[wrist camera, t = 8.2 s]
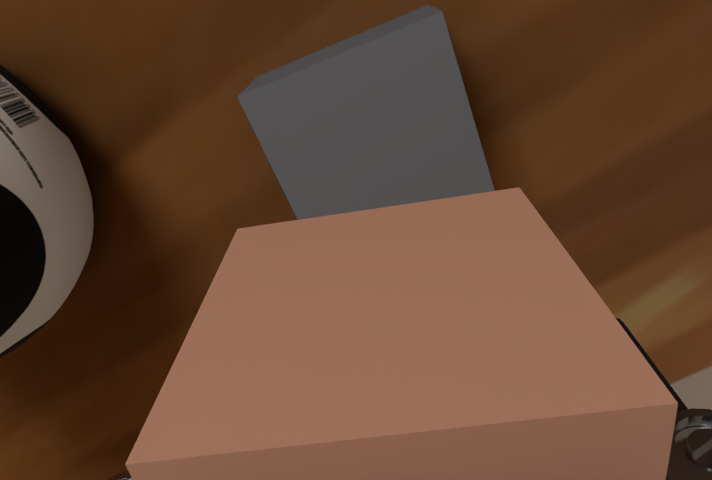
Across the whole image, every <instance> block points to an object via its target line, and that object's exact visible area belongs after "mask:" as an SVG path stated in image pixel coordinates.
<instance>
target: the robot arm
mask: <svg viewBox="0 0 712 480" xmlns="http://www.w3.org/2000/svg"><path fill="white" fill-rule="evenodd" d="M616 319H617V321H618V322H619V324H620V325H621V326H622V328H623V329H624V330H625V332H626V333H627V334H628V336H629V337H630V339H631V340H632V341H633V343H634V344H635V345H636V347H637V348H638V349H639V351H640V352H641V353H642V355H643V356H644V358H645V359H646V360H647V362H648V363H649V364H650V366H651V367H652V368H653V370H654V371H655V373H656V374H657V375H658V377H659V378H660V379H661V381H662V382H663V383H664V385H665V386H666V388H667V389H668V390H669V392H670V393H671V394H672V396H673V397H674V398H675V400H676V401H677V402H678V407H677V413H676V419H675V425H674V432H673V438H672V444H671V450H670V456H669V462H668V468H667V474H666V480H712V410H709V409H687V407H686V406H685V405H684V403H683V402H682V401H681V399H680V398H679V397H678V395H677V394H676V393H675V392H674V390H673V388H672V387H671V386H670V384H669V383H668V382H667V380H666V379H665V378H664V376H663V375H662V374H661V372H660V371H659V370H658V368H657V367H656V366H655V364H654V363H653V362H652V360H651V359H650V358H649V356H648V355H647V354H646V352H645V351H644V350H643V348H642V347H641V346H640V344H639V343H638V342H637V340H636V339H635V338H634V336H633V335H632V333H631V332H630V331H629V329H628V328H627V327H626V325H625V324H624V323H623V322H622V321H621V320H620V319H618V318H616ZM108 480H133V478H132V477H131V475H130V473H129V471H127V472H124V473H120V474H117V475H115V476H114V477H112V478H110V479H108Z"/></svg>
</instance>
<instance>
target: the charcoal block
mask: <svg viewBox="0 0 712 480" xmlns="http://www.w3.org/2000/svg"><path fill="white" fill-rule="evenodd" d="M238 99H239V101H240V104H241V106H242V108H243V110H244V112H245V114H246V116H247V118H248V120H249V122H250V124H251V126H252V128H253V130H254V132H255V134H256V136H257V138H258V140H259V142H260V144H261V146H262V148H263V150H264V152H265V154H266V156H267V158H268V160H269V162H270V165H271V167H272V169H273V171H274V173H275V175H276V177H277V179H278V181H279V183H280V185H281V187H282V189H283V191H284V193H285V195H286V197H287V199H288V201H289V203H290V205H291V207H292V209H293V211H294V213H295V215H296V217H297V219H298V220H301V219H308V218H315V217H321V216H328V215H335V214H342V213H349V212H355V211H362V210H369V209H376V208H383V207H389V206H396V205H403V204H410V203H416V202H423V201H430V200H437V199H444V198H450V197H457V196H464V195H471V194H478V193H484V192H491V191H495V190H494V187H493V183H492V180H491V176H490V173H489V169H488V166H487V163H486V159H485V156H484V152H483V149H482V145H481V142H480V139H479V135H478V132H477V128H476V125H475V121H474V118H473V115H472V111H471V108H470V104H469V101H468V97H467V94H466V91H465V87H464V84H463V80H462V77H461V73H460V70H459V67H458V63H457V60H456V56H455V53H454V49H453V46H452V43H451V39H450V36H449V32H448V29H447V25H446V22H445V19H444V15H443V12H442V11H441V10H439V9H437V8H435V7H433V6H431V5H426V6H424V7H421V8H419V9H416V10H414V11H412V12H409V13H407V14H405V15H402V16H400V17H397V18H395V19H393V20H390V21H388V22H386V23H383V24H381V25H378V26H376V27H374V28H371V29H369V30H367V31H364V32H362V33H359V34H357V35H355V36H352V37H350V38H348V39H345V40H343V41H340V42H338V43H336V44H333V45H331V46H329V47H326V48H324V49H322V50H319V51H317V52H314V53H312V54H310V55H307V56H305V57H303V58H300V59H298V60H295V61H293V62H291V63H288V64H286V65H284V66H281V67H279V68H276V69H274V70H272V71H269V72H267V73H265V74H262V75H260V76H257V77H256V78H255V79H254V80H253V81H252V82H251V83H250V84H249V85H248V86H247V87H246V88H245V90H244V91H243V92H242V93H241V94H240V95H239V96H238Z"/></svg>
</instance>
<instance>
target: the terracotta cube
mask: <svg viewBox="0 0 712 480" xmlns="http://www.w3.org/2000/svg"><path fill="white" fill-rule="evenodd" d="M677 407H678V402H677V401H676V400H675V398H674V397H673V396H672V394H671V393H670V392H669V390H668V389H667V388H666V386H665V385H664V383H663V382H662V381H661V379H660V378H659V377H658V375H657V374H656V373H655V371H654V370H653V368H652V367H651V366H650V364H649V363H648V362H647V360H646V359H645V358H644V356H643V355H642V353H641V352H640V351H639V349H638V348H637V347H636V345H635V344H634V343H633V341H632V340H631V339H630V337H629V336H628V334H627V333H626V332H625V330H624V329H623V328H622V326H621V325H620V324H619V322H618V321H617V319H616V318H615V317H614V315H613V314H612V313H611V311H610V310H609V309H608V307H607V306H606V304H605V303H604V302H603V300H602V299H601V298H600V296H599V295H598V294H597V292H596V291H595V290H594V288H593V287H592V285H591V284H590V283H589V281H588V280H587V279H586V277H585V276H584V275H583V273H582V272H581V270H580V269H579V268H578V266H577V265H576V264H575V262H574V261H573V260H572V258H571V257H570V255H569V254H568V253H567V251H566V250H565V249H564V247H563V246H562V245H561V243H560V242H559V240H558V239H557V238H556V236H555V235H554V234H553V232H552V231H551V230H550V228H549V227H548V226H547V224H546V223H545V221H544V220H543V219H542V217H541V216H540V215H539V213H538V212H537V211H536V209H535V208H534V206H533V205H532V204H531V202H530V201H529V200H528V198H527V197H526V196H525V194H524V193H523V191H522V190H521V189H520V187H518V188H512V189H505V190H498V191H491V192H484V193H478V194H471V195H464V196H457V197H450V198H444V199H437V200H430V201H423V202H416V203H410V204H403V205H396V206H389V207H383V208H376V209H369V210H362V211H355V212H349V213H342V214H335V215H328V216H321V217H315V218H308V219H301V220H294V221H287V222H281V223H274V224H267V225H260V226H253V227H247V228H240V229H237V231H236V233H235V235H234V237H233V239H232V241H231V244H230V246H229V248H228V250H227V252H226V254H225V256H224V258H223V260H222V262H221V265H220V267H219V269H218V271H217V273H216V275H215V277H214V279H213V281H212V283H211V285H210V288H209V290H208V292H207V294H206V296H205V298H204V300H203V302H202V304H201V306H200V309H199V311H198V313H197V315H196V317H195V319H194V321H193V323H192V325H191V327H190V329H189V332H188V334H187V336H186V338H185V340H184V342H183V344H182V346H181V348H180V350H179V353H178V355H177V357H176V359H175V361H174V363H173V365H172V367H171V369H170V371H169V373H168V376H167V378H166V380H165V382H164V384H163V386H162V388H161V390H160V392H159V394H158V396H157V399H156V401H155V403H154V405H153V407H152V409H151V411H150V413H149V415H148V417H147V420H146V422H145V424H144V426H143V428H142V430H141V432H140V434H139V436H138V438H137V440H136V443H135V445H134V447H133V449H132V451H131V453H130V455H129V457H128V459H127V461H126V464H125V465H126V467H127V469H128V471H129V473H130V475H131V477H132V478H133V480H666V474H667V468H668V462H669V456H670V450H671V444H672V438H673V432H674V425H675V419H676V413H677Z"/></svg>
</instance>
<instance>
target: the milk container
mask: <svg viewBox="0 0 712 480" xmlns="http://www.w3.org/2000/svg"><path fill="white" fill-rule="evenodd" d="M92 238H93V205H92V195H91V191H90V188H89V184H88V181H87V178H86V175H85V172H84V169H83V167H82V164H81V161H80V158H79V156H78V154H77V151H76V149H75V147H74V145H73V143H72V142H71V140H70V139H69V137H68V135H67V134H66V132H65V131H64V130H63V128H62V127H61V126H60V124H59V123H58V122H57V120H56V119H55V117H54V116H53V115H52V113H51V112H50V111H49V109H48V108H47V107H46V106H45V104H44V103H43V102H42V101H41V100H40V99H39V97H38V96H37V95H36V94H35V93H34V92H33V91H31V90H30V89H29V88H28V87H27V86H26V85H25V84H24V83H22V82H21V81H20V80H19V79H17V78H16V77H15V76H14V75H12V74H11V73H10V72H9V71H7V70H6V69H5V68H3V67H2V66H1V65H0V358H1V357H3V356H4V355H6V354H7V353H9V352H11V351H12V350H14V349H15V348H17V347H18V346H20V345H21V344H23V343H24V342H25V341H27V340H28V339H29V338H30V337H32V336H33V335H34V334H35V333H36V332H37V331H39V330H40V329H41V328H42V327H43V326H44V325H45V324H46V323H47V322H48V321H49V320H50V319H51V318H52V316H53V315H54V314H55V313H56V312H57V311H58V309H59V308H60V307H61V305H62V304H63V303H64V301H65V300H66V298H67V297H68V295H69V294H70V292H71V290H72V289H73V287H74V286H75V284H76V282H77V280H78V278H79V276H80V274H81V272H82V269H83V267H84V265H85V263H86V260H87V258H88V255H89V251H90V248H91V243H92Z"/></svg>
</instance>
